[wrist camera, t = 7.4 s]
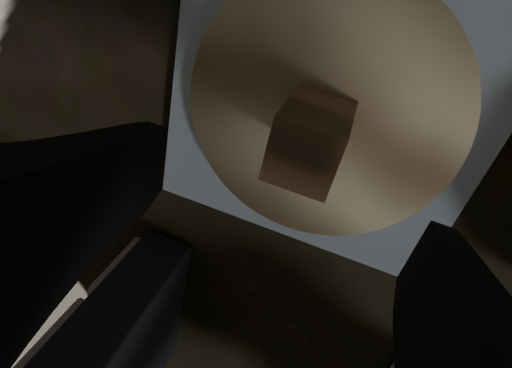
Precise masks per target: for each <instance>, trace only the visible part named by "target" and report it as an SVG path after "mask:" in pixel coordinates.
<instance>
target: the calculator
mask: <svg viewBox="0 0 512 368" xmlns="http://www.w3.org/2000/svg"><path fill="white" fill-rule="evenodd" d="M191 252H192V248H191V246H189V245H186V244H184V243H181V242H179V241H176V240H174V239H171V238H169V237H166V236H164V235H161V234H159V233H156V232H153V231H148V232H146V233H145V234H144V236H143V237H142V238H140V237H135V238H134V239H133V240H132V241H131V242H130V243H129V245H128V246H127V247H126V248H125V249H124V250H123V251H122V252H121V253H120V254H119V255H118V256H117V257H116V258H115V259H114V260H113V262H112V263H111V264H110V265H109V266H108V267H107V268H106V269H105V270H104V271H103V272H102V273H101V274H100V275H99V276H98V278H97V279H96V280H95V281H94V282H93V283H92V284H91V285H90V287H89V288H88V297H87V298H86V299H85V300H84V299H82V298H79V299H77V300H76V301H75V302H74V303H73V304H72V305H71V306H70V308H69V309H68V310H67V311H66V312H65V313H64V314H63V315H62V316H61V317H60V318H59V319H58V320H57V321H56V322H55V324H53V326H52V327H51V328H50V329H49V330H48V331H47V332H46V333H45V334H44V335H43V336H42V337H41V338H40V339H39V341H38V342H37V343H36V344H35V345H34V346H33V347H32V348H31V349H30V350H29V351H28V352H27V353H26V354H25V355H24V356H23V358H22V359H21V360H20V361H19V362H18V363H17V364H16V365H15V366H14V367H13V368H164V367H165V365H166V364H167V362H168V360H169V358H170V357H171V355H172V353H173V351H174V348H175V344H176V338H177V333H178V327H179V321H180V315H181V310H182V304H183V298H184V292H185V287H186V281H187V275H188V269H189V264H190V258H191Z"/></svg>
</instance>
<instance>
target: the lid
mask: <svg viewBox="0 0 512 368" xmlns="http://www.w3.org/2000/svg"><path fill="white" fill-rule="evenodd" d="M190 100H191V113H192V118H193V123H194V128H195V131H196V135H197V138H198V141H199V144H200V146H201V148H202V150H203V153H204V155H205V157H206V159H207V161H208V162H209V164H210V166H211V167H212V169H213V171H214V172H215V173H216V175H217V176H218V177H219V179H220V180H221V181H222V183H223V184H224V185H225V186H226V187H227V188H228V189H229V190H230V191H231V192H232V194H234V195H235V196H236V197H237V198H238V199H239V200H240V201H242V202H243V203H244V204H245V205H247V206H248V207H249V208H251V209H252V210H254V211H255V212H256V213H258V214H260V215H262V216H264V217H265V218H267V219H269V220H271V221H273V222H276V223H278V224H280V225H282V226H285V227H288V228H291V229H295V230H298V231H302V232H307V233H312V234H319V235H330V236H339V235H354V234H363V233H367V232H371V231H376V230H380V229H382V228H385V227H388V226H391V225H394V224H396V223H398V222H400V221H402V220H404V219H406V218H408V217H410V216H412V215H413V214H415V213H417V212H418V211H420V210H421V209H423V208H424V207H426V206H427V205H428V204H429V203H430V202H432V201H433V200H434V199H435V198H436V197H437V196H439V195H440V194H441V193H442V191H443V190H444V189H445V188H446V187H447V186H448V185H449V184H450V183H451V182H452V180H453V179H454V177H455V176H456V174H457V173H458V171H459V170H460V169H461V167H462V166H463V164H464V162H465V160H466V158H467V156H468V154H469V152H470V150H471V147H472V144H473V141H474V138H475V135H476V132H477V129H478V123H479V118H480V112H481V83H480V75H479V68H478V65H477V61H476V58H475V54H474V51H473V48H472V45H471V43H470V41H469V39H468V37H467V35H466V33H465V31H464V29H463V27H462V26H461V24H460V23H459V21H458V20H457V18H456V17H455V15H454V14H453V13H452V11H451V10H450V8H449V7H448V6H447V5H446V4H445V3H444V2H443V1H442V0H228V1H227V2H226V4H225V5H224V6H223V7H222V8H221V9H220V10H219V12H218V13H217V14H216V16H215V17H214V19H213V21H212V22H211V24H210V25H209V27H208V28H207V30H206V32H205V35H204V37H203V39H202V41H201V43H200V45H199V48H198V51H197V55H196V58H195V61H194V66H193V71H192V76H191V90H190Z"/></svg>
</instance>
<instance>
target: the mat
mask: <svg viewBox="0 0 512 368" xmlns="http://www.w3.org/2000/svg"><path fill="white" fill-rule="evenodd" d="M227 1H228V0H181V4H180V14H179V25H178V35H177V46H176V56H175V67H174V77H173V88H172V98H171V109H170V119H169V130H168V140H167V151H166V161H165V172H164V182H163V190H166V191H169V192H172V193H174V194H177V195H180V196H182V197H185V198H188V199H190V200H193V201H196V202H198V203H201V204H204V205H206V206H209V207H212V208H215V209H217V210H220V211H223V212H225V213H228V214H231V215H233V216H236V217H239V218H241V219H244V220H247V221H249V222H252V223H255V224H258V225H260V226H263V227H266V228H268V229H271V230H274V231H276V232H279V233H282V234H284V235H287V236H290V237H292V238H295V239H298V240H301V241H303V242H306V243H309V244H311V245H314V246H317V247H319V248H322V249H325V250H327V251H330V252H333V253H336V254H338V255H341V256H344V257H346V258H349V259H352V260H354V261H357V262H360V263H362V264H365V265H368V266H370V267H373V268H376V269H379V270H381V271H384V272H387V273H389V274H392V275H395V276H398V275H399V273H400V271H401V270H402V268H403V266H404V265H405V263H406V261H407V260H408V258H409V256H410V255H411V253H412V251H413V250H414V248H415V246H416V245H417V243H418V241H419V239H420V238H421V236H422V234H423V233H424V231H425V229H426V228H427V226H428V224H429V223H430V221H431V220H432V221H435V222H438V223H441V224H444V225H446V226H449V227H452V225H453V224H454V222H455V220H456V219H457V217H458V216H459V214H460V213H461V211H462V210H463V208H464V206H465V205H466V203H467V202H468V200H469V199H470V197H471V196H472V194H473V192H474V191H475V189H476V188H477V186H478V185H479V183H480V182H481V180H482V178H483V177H484V175H485V174H486V172H487V171H488V169H489V168H490V166H491V164H492V163H493V161H494V160H495V158H496V157H497V155H498V154H499V152H500V150H501V149H502V147H503V146H504V144H505V143H506V141H507V140H508V138H509V136H510V135H511V133H512V0H442V1H443V2H444V3H445V4H446V5H447V6H448V7H449V8H450V10H451V11H452V13H453V14H454V15H455V17H456V18H457V20H458V21H459V23H460V24H461V26H462V27H463V29H464V31H465V33H466V35H467V37H468V39H469V41H470V43H471V45H472V48H473V51H474V54H475V58H476V61H477V65H478V68H479V75H480V83H481V112H480V118H479V123H478V129H477V132H476V135H475V138H474V141H473V144H472V147H471V150H470V152H469V154H468V156H467V158H466V160H465V162H464V164H463V166H462V167H461V169H460V170H459V171H458V173H457V174H456V176H455V177H454V179H453V180H452V182H451V183H450V184H449V185H448V186H447V187H446V188H445V189H444V190H443V191H442V193H441V194H440V195H439V196H437V197H436V198H435V199H434V200H433V201H432V202H430V203H429V204H428V205H427V206H426V207H424V208H423V209H421V210H420V211H418V212H417V213H415V214H413V215H412V216H410V217H408V218H406V219H404V220H402V221H400V222H398V223H396V224H394V225H391V226H388V227H385V228H382V229H380V230H376V231H371V232H367V233H363V234H354V235H339V236H330V235H319V234H312V233H307V232H302V231H298V230H295V229H291V228H288V227H285V226H282V225H280V224H278V223H276V222H273V221H271V220H269V219H267V218H265V217H264V216H262V215H260V214H258V213H256V212H255V211H254V210H252V209H251V208H249V207H248V206H247V205H245V204H244V203H243V202H242V201H240V200H239V199H238V198H237V197H236V196H235V195H234V194H232V192H231V191H230V190H229V189H228V188H227V187H226V186H225V185H224V184H223V183H222V181H221V180H220V179H219V177H218V176H217V175H216V173H215V172H214V171H213V169H212V167H211V166H210V164H209V162H208V161H207V159H206V157H205V155H204V153H203V150H202V148H201V146H200V144H199V141H198V138H197V135H196V131H195V128H194V123H193V118H192V113H191V100H190V90H191V76H192V71H193V66H194V61H195V58H196V55H197V51H198V48H199V45H200V43H201V41H202V39H203V37H204V35H205V32H206V30H207V28H208V27H209V25H210V24H211V22H212V21H213V19H214V17H215V16H216V14H217V13H218V12H219V10H220V9H221V8H222V7H223V6H224V5H225V4H226V2H227Z"/></svg>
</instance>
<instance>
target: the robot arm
mask: <svg viewBox="0 0 512 368" xmlns="http://www.w3.org/2000/svg"><path fill="white" fill-rule="evenodd" d="M167 134H168V128H165V127H162V126H160V125H157V124H154V123H151V122H137V123H130V124H124V125H118V126H113V127H108V128H102V129H97V130H92V131H86V132H81V133H75V134H69V135H63V136H56V137H50V138H43V139H37V140H29V141H20V142H11V143H0V368H11V367H12V365H13V364H14V362H15V361H16V360H17V358H18V357H19V356H20V354H21V353H22V351H23V350H24V349H25V347H26V346H27V345H28V343H29V342H30V341H31V339H32V338H33V337H34V336H35V334H36V333H37V332H38V330H39V329H40V328H41V326H42V325H43V324H44V323H45V321H46V320H47V319H48V317H49V316H50V315H51V313H52V312H53V311H54V310H55V308H56V307H57V306H58V304H59V303H60V302H61V301H62V300H63V299H64V297H65V296H66V295H67V294H68V292H69V291H70V290H71V289H72V288H73V286H74V285H75V284H76V283H77V282H78V280H79V279H80V278H81V277H82V276H83V275H84V274H85V273H86V272H87V271H88V270H89V269H90V268H91V267H92V266H93V265H94V264H95V263H96V262H97V261H98V260H99V259H100V258H101V257H102V256H103V255H104V254H105V253H106V252H107V251H108V250H109V249H110V248H111V247H112V246H113V245H114V244H115V243H116V242H117V241H118V240H119V239H120V238H121V237H122V236H123V235H124V234H125V233H126V232H127V231H128V230H129V229H130V228H131V227H132V226H133V225H134V224H135V223H136V222H137V221H138V220H139V219H140V218H141V217H142V216H143V215H144V213H145V212H146V211H147V209H148V208H149V207H150V206H151V204H152V203H153V202H154V200H155V199H156V197H157V196H158V195H159V193H160V192H161V190H162V186H163V176H164V165H165V155H166V145H167ZM393 344H394V362H393V364H392V365H391V367H390V368H512V296H511V295H510V294H509V293H508V291H507V290H506V289H505V288H504V287H503V285H502V284H501V283H500V282H499V280H498V279H497V278H496V277H495V275H494V274H493V273H492V272H491V270H490V269H489V268H488V267H487V265H486V264H485V263H484V262H483V260H482V259H481V258H480V256H479V255H478V254H477V253H476V251H475V250H474V249H473V248H472V246H471V245H470V244H469V243H468V242H467V240H466V239H465V238H464V237H463V236H462V235H461V233H460V232H459V231H458V230H457V229H455V228H452V227H449V226H446V225H444V224H441V223H438V222H435V221H432V220H431V221H430V223H429V224H428V226H427V228H426V229H425V231H424V233H423V234H422V236H421V238H420V239H419V241H418V243H417V245H416V246H415V248H414V250H413V251H412V253H411V255H410V256H409V258H408V260H407V261H406V263H405V265H404V266H403V268H402V270H401V271H400V273H399V275H398V276H397V281H396V288H395V296H394V305H393Z"/></svg>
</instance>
